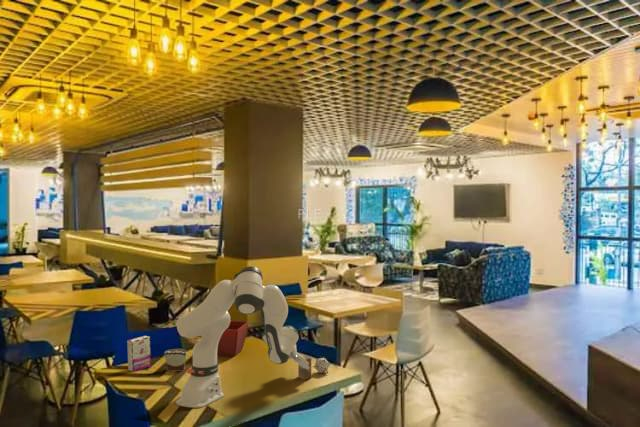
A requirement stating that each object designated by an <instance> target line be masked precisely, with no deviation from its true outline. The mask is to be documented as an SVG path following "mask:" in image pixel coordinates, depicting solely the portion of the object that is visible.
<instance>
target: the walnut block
mask: <svg viewBox="0 0 640 427" xmlns="http://www.w3.org/2000/svg"><path fill="white" fill-rule="evenodd" d="M301 356H302V355H301ZM302 357H303V358H304V359H305V360H306V361H307V362H308V363H309V365H308V366H309V367H310V368H309V370H307V369H306V368H305V369H304V368H302V367H301V366H300V365H298V364H297V365H298V377H299V378H300V379H301V380H302V381H303V380H309V379H312V358H311V357H310V356H309V355H303V356H302Z"/></svg>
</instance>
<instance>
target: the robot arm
mask: <svg viewBox="0 0 640 427" xmlns="http://www.w3.org/2000/svg"><path fill="white" fill-rule="evenodd" d="M263 278H264V277H263V274H262V271H261V269H260V268H257V266H246V267H244V268H242V269H241V270H240V271H239V272H237V273H235V274H234V276H233V280H230V279H223V280H221V281H219V282H218V283H216V284H215V285H214V287H212V289H211V290H210V292H209V293H208V295H207V296H206V298H204V300H203V302H201V303H200V304H199V305H197V306H196V307H195V308H193V309H192V310H190V311H189V312H187V313H184V314H183V315H181V316H180V317H179V318H178V319H177V322H176V329H177V332H178V334H179V335H180V336H181V337H182V338H196V337H200V336H201V338H200V340H199V341H198V342H197V343H196V344H195V345H193V348H192V364H191V368H188V369H187V370H186V371H187V374H190V375H189V377H188V378H187V380H186V382H185V384H184V385H183V386H182V389H181V395H180V397H179V398H177V400H176V401H175V404H176V405H177V406H180V407H184V408H196V409H197V408H203V407H205V406H207V405H209V404H211V403H213V402H216V401H217V400H219V399H221V398H223V397H225V394H224V392H222V383H221V376H220V375H219V372H218V371H219V362H218V355H217V348H218V343H219V340H220V338H221V336H222V334H223V332H224V331H225V330H226V329H227V328H228V327H229V325H230V321H231V315H230V313H229V312H228V311H229V310H230V308H231V307H232V305H233V304H234V306H235V309H236V311H238V312H239V313H240V314H243V315H251V314H255V313H257V312H258V311H261V310H262V312H263V315H264V317H263V318H264V330H263V333H262V335H261V336H262V337H261V338H262V339H263V341H264V342H265V343H266V344H267V348H268V350H267V355H268V358H269V360H270V361H271V362H273V363H274V364H276V365H282V364H285V363H287V362H288V360H292V361H294V362H295V363H296V364H297V365H300V366H301V367H302V368H304V369H305V368H306V369H307V370H309V368H310V367H309V366H308V365H309V363H308V362H307V361H306V360H305V359H304V358H303V357H302V355H301V354H299V353H298V352H297V351H298V350H297V342H298V340H299V338H300V336H299V332H298V330H297V329H296V328H295V327H294V326H292V325H284V324H285V322H286V319H287V318H288V314H289V305H288V303H287V302H288V301H287V300H286V297H285V295H284V294H283V292H282V290H281V289H280V288H279V286H277V285H275V284H268V285H263Z"/></svg>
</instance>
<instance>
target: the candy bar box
mask: <svg viewBox="0 0 640 427" xmlns="http://www.w3.org/2000/svg"><path fill="white" fill-rule="evenodd" d="M126 343H127V367H128V368H127V370H128V372H129V371H130V372H132V373H134V372H137V371H141V370H144V369H148V368H150V367H152V356H151V354H152V353H151V352H152V351H151V336H149V335H148V336H147V335H143V336H139V337H135V338H132V339H128V340H127V341H126Z"/></svg>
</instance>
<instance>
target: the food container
mask: <svg viewBox="0 0 640 427" xmlns="http://www.w3.org/2000/svg"><path fill="white" fill-rule="evenodd" d="M163 356H164V357H165V364H166V371H171V370H175V371H176V372H179V371H181V372H184V371H185V370H186V360H187V356H188V352H187V350H186V349H184V348H172V349H171V348H170V349H167V350H165V351H164V353H163Z"/></svg>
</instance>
